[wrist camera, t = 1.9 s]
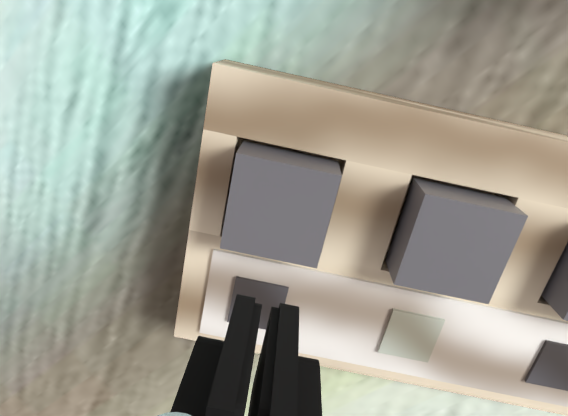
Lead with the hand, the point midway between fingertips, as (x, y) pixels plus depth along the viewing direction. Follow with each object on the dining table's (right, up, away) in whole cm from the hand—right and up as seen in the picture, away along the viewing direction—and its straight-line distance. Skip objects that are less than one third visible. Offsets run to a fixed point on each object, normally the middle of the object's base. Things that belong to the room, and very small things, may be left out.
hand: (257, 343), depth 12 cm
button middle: (+9, +3, +12) cm, 15 cm away
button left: (+1, +4, +11) cm, 12 cm away
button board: (+9, +2, +15) cm, 18 cm away
